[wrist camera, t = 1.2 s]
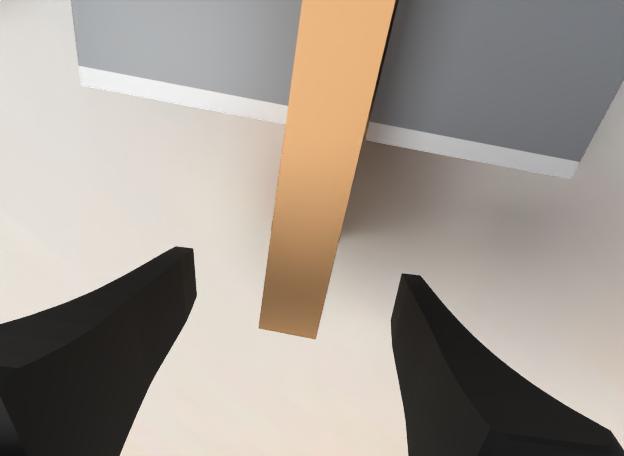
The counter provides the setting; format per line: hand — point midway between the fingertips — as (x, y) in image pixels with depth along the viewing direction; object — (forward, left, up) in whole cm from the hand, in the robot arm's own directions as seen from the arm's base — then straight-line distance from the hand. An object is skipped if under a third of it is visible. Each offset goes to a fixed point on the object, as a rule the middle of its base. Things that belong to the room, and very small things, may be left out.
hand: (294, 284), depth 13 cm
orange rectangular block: (0, -4, -6) cm, 7 cm away
